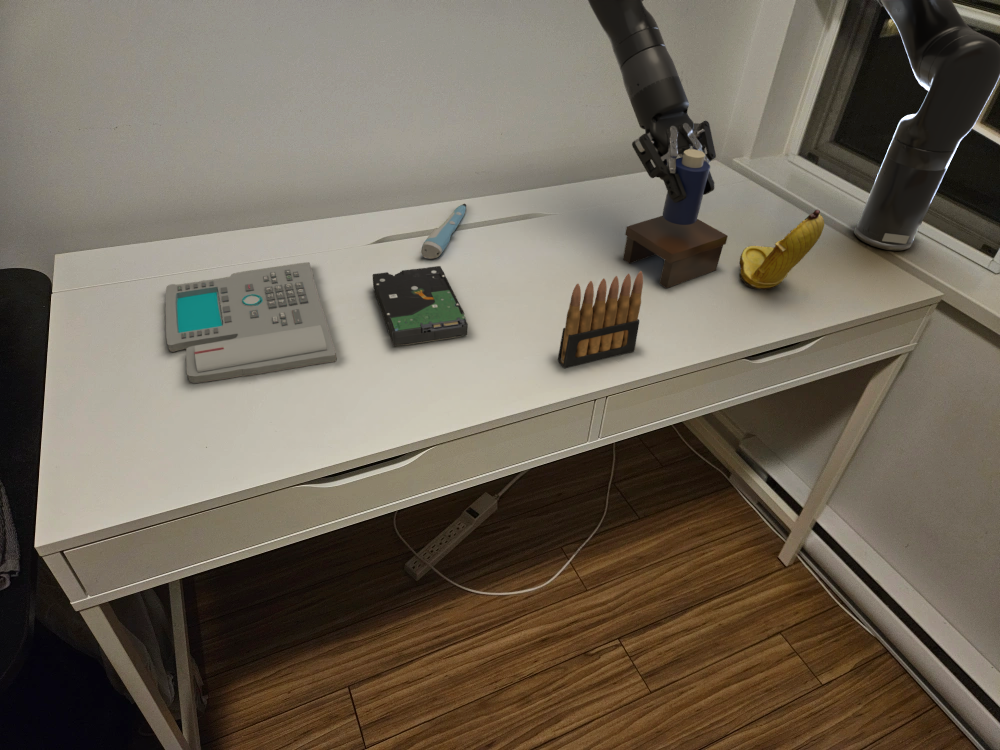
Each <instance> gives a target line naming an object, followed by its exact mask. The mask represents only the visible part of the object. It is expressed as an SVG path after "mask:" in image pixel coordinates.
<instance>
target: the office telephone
mask: <svg viewBox="0 0 1000 750" xmlns="http://www.w3.org/2000/svg"><path fill="white" fill-rule="evenodd" d="M314 279H315V278H314V273H313V270H312V265H311V262H307V261H306V262H300V263H292V264H285V265H277V266H269V267H265V268H257V269H251V270H244V271H238V272H234V273H231V275H229V276H226V277H219V278H213V279H208V280H200V281H192V282H185V283H179V284H175V283H171V284H168V285H166V287H165V337H166V343H167V347H168V350H169V352H178V351H183V350H185V360H186V361H185V364H186V374H187V377H188V380H189V382H190V383H192V384H193V383H194V384H199V383H207V382H214V381H215V382H216V381H220V380H227V379H233V378H238V377H247V376H248V377H249V376H254V375H261V374H267V373H273V372H279V371H285V370H291V369H297V368H303V367H308V366H309V367H310V366H316V365H320V364H321V365H322V364H327V363H333V362H337V360H338V358H337V351H336V348H335V344H334V342H333V337H332V334H331V331H330V328H329V325H328V322H327V318H326V315H325V312H324V309H323V305H322V302H321V299H320V296H319V293H318V290H317V286H316V282H315V280H314Z"/></svg>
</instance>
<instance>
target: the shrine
mask: <svg viewBox="0 0 1000 750" xmlns="http://www.w3.org/2000/svg"><path fill="white" fill-rule="evenodd" d="M824 227H825V219H824V218H823V216H822V215H821V211H820V209H815V210H814V211H813V212H812V213H810V214H809V215H807V216H806V218H805V219H804V220H801V222H799V224H797V225H796V227H794V228H793V229H791V230H789V231H790V232H789V233H787V234H786V235H785V236H784V237H783V239H780V240H778V241H776V242H775V243H774V245H775V246H773V247H772V246H761V245H760V246H759V245H748V246H747V247H745V248H744V249H743V250H742V252H741V254H740V257H739V261H738V262H739V263H738V264H739V267H740V270H739V272H740V273H739V278H740V279H741V281H742V282H743V283H744V284H745V285H746V286H747V287H748V288H751V289H754V290H763V291H767V290H772V289H775V288H777V286H779V285H781V284H782V282H784V280H785V279H786V278H787V276H788V274H789V273H790V272H791V270H792V269H794V267H795V266H797V264H799V263H800V262H801V261H802V260H803V259H804V257H806V255H807V254H808V253H809V252H810V251H811V250H812V249H813V247H815V245H816V244H817V242H818V240H819V239H820V237H821V236H822V234H823V230H824Z"/></svg>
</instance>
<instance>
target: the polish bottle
mask: <svg viewBox="0 0 1000 750" xmlns="http://www.w3.org/2000/svg"><path fill="white" fill-rule="evenodd" d="M705 154H706V152H705V153H704V152H702V151H699V150H694V149H693V148H690V149H688V150H685V151H684V154H683V157H677V158H676V173H675V174H677V173H678V174H679V177H680V179H681V182H682V184H683V187H684V190H685V192H686V198H685V199H683V200H682V201H680V202H677V203H674V202H673V200H672V199H671V198H670V197H669V194H668V191H667V190H666V191H667V192H666V196H665V201H664V205H663V210H662V216H663V217H664V218H665V219H666V220H667V221H669V222H671V223H674V224H679V225H690V224H693V223H695V222H696V221H697V219H698V217H699V213H700V209H701V205H702V202H703V197H704V195H703V194H704V190H705V186H706V182H707V178H708V174H709V170H710V169H711V165H710V163H709V164H708V163H707V162H705V161H704V158H705Z"/></svg>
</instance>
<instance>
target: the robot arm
mask: <svg viewBox="0 0 1000 750" xmlns="http://www.w3.org/2000/svg"><path fill="white" fill-rule="evenodd" d="M879 1H880V3H881V4H882V6H883V8H884V9H885V10H886V12H887V14H888V15H889V16H890V18H891V20H892V21H893V23H894V24H895V26H896V28H897V30H898V32H899V33H898V34H899V35H900V37H901V40H902V43H903V46H904V49H905V52H906V54H907V58H908V61H909V64H910V67H911V69H912V72H913V74H914V75H913V76H914V77H915V79H916V80H917V82H918V84H919V85H920V86H921V87H923V88H924V90H926V91H927V94H926V96H925V98H924V99H923V102H922V104H921V106H920V108H919V110H918V111H917V112H916V113H912V114H907V115H905V116H904V117H902V118H901V119H900V120H899V122H898V124H897V127H896V129H895V132H894V134H893V136H892V139H891V141H890V144H889V146H888V149H887V151H886V154H885V156H884V159H883V161H882V163H881V166H880V168H879V171H878V172H877V176H876V178H875V180H874V183H873V185H872V188H871V190H870V191H869V192H870V193H869V195H868V197H867V200H866V202H865V205H864V207H863V209H862V212H861V215H860V217H859V219H858V221H857V223H856V225H855V227H854V230H853V233H854V236H855V237H856V238H857V239H859V240H860V241H862V242H863V243H864V244H867V245H870V246H872V247H874V248H878V249H881V250H886V251H905V250H908V249H910V248H911V247H912V245H913V243H914V241H915V237H916V235H917V233H918V231H919V229H920V227H921V225H922V223H923V222H924V219H925V217H926V215H927V212H928V211H929V208H930V205H931V204H932V201H933V199H934V197H935V195H936V193H937V191H938V189H939V187H940V185H941V183H942V181H943V178H944V176H945V174H946V172H947V170H948V168H949V166H950V163H951V161H952V159H953V157H954V155H955V153H956V151H957V148H958V147H959V145H960V143H961V141H962V140H963V139H964V138H965V137H966V136H967V135H968V134H969V133H970V132H971V131H972V129H973V128H974V126H975V125H976V123H977V122H978V119H979V117H980V115H981V114H982V112H983V110H984V108H985V106H986V104H987V103H988V101H989V99H990V97H991V95H992V93H993V91H994V90H995V88H996V87H997V83H998V81H999V79H1000V44H999V43H998V42H997V41H996V40H994V39H992V38H990V37H988V36H986V35H985V34H982V33H980V32H977V31H976V30H975V29H973V28H971V27H970V26H969V25H968V24H967V23H966V22H965V20H964V19H963V17H962V16H961V14H960V12H959V11H958V9H957V8H956V5H955V4H954V2H953V0H879ZM587 2H588V4H589V6H590V8H591V11H592V12H593V14H594V15H595V17H596V19H597V21H598V23H599V24H600V26H601V28H602V30H603V31H604V33H605V34H606V36H607V38H608V40H609V43H610V44H611V49H612V51H613V54H614V57H615V60H616V62H617V65H618V68H619V71H620V73H621V77H622V82H623V85H624V88H625V91H626V94H627V96H628V99H629V101H630V104H631V107H632V110H633V113H634V115H635V118H636V120H637V123H638V125H639V128H641V130H645V132H644V133H642V134H641V135H640V136H638V138H636V139H634V141H632V143H631V146H632V148H633V150H634V151H635V153H636V155H637V157H638V159H639V161H640V163H641V164H642V166H643V168H644V169H645V171H646V173H647V175H648V176H649V177H650V178H651V179H655V178H659V179H660V180H662V181H663V183H664V186H665V188H666V191H668V194H669V197H670V198H671V199H672V200H673V202H674V203H677V202H680V201H682V200H683V199H685V198H686V192H685V190H684V187H683V184H682V182H681V179H680V177H679V174H678V173H677V174H675V173H676V159H677V158H678V156H679V158H681V157H683V154H684V151H685V150H688V149H694V150H699V151H702V152H704V153H705V158H704V161H705V162H707V163H708V164H709V165H710V163H711V161H713V160H714V159H716V157H717V154H716V149H715V144H714V140H713V135H712V130H711V126H710V122H709V121H708V120H703V121H702V122H700V123H698V122H694V121H693V120H692V118H691V117H690V116H689V114H688V110H689V108H690V103H689V99H688V97H687V94H686V92H685V89H684V87H683V83H682V81H681V78H680V75H679V73H678V70H677V68H676V66H675V62H674V60H673V58H672V56H671V55H670V53H669V51H668V49H667V47H666V44H665V41H664V38H663V35H662V33H661V31H660V29H659V26H658V24H657V21H656V19H655V18H654V16H653V15H652V14H651V13H650V12H649V10H648V9H647V8H646V6H645V5H644V3H643V2H644V0H587ZM691 147H692V148H691ZM714 190H715V181H714V179H713V176H712V173H711V171H710V170H709V174H708V178H707V182H706V186H705V190H704V194H703V196H705V195H708V194H710V193H711V192H713V191H714Z"/></svg>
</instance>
